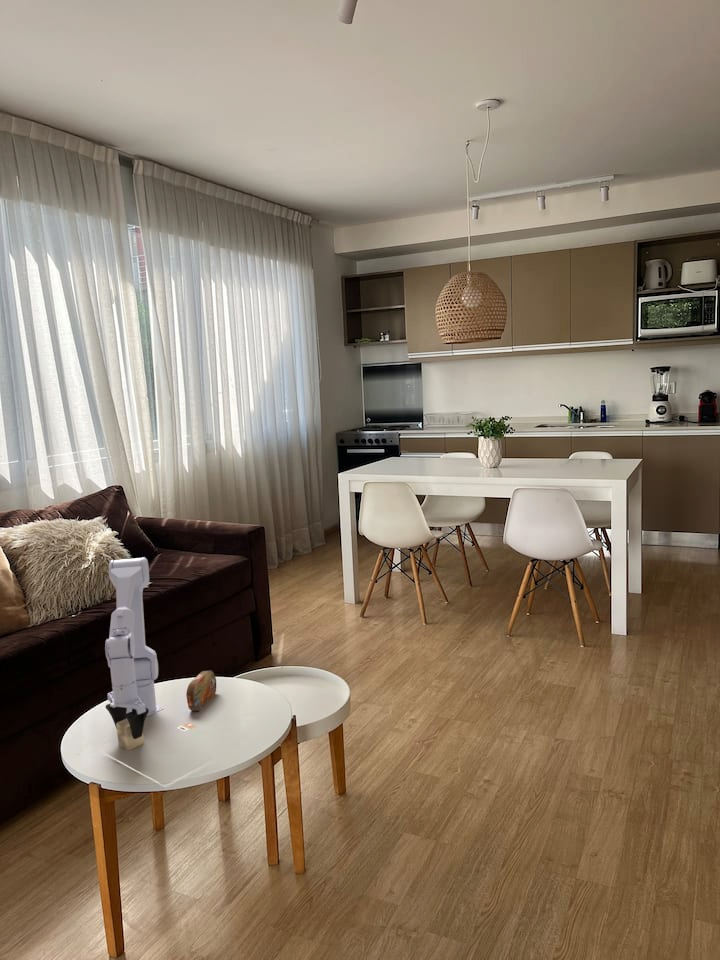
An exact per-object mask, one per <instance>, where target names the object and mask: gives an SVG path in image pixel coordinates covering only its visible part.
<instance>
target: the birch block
mask: <svg viewBox="0 0 720 960" xmlns="http://www.w3.org/2000/svg"><path fill="white" fill-rule="evenodd" d="M116 726H117V729H116V733H117V735H116V736H117V743H118V746H119V747H121V748H123V749H125V750H127V751H130V750H132V749H134V748H136V747H139V746H140V745H144V744H145V739H144V732H143V733H142V736H141V737H139V738H137V739H133V736H132V733H131V728H130V725H129V722H128V720H127V719H124V720H122V721H120V722H117V723H116ZM116 726H115V727H116Z"/></svg>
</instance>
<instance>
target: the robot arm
mask: <svg viewBox="0 0 720 960" xmlns="http://www.w3.org/2000/svg"><path fill="white" fill-rule="evenodd" d="M149 569H150V568H149V561H148V559H147V558H146V557H145V556H144V557H143V556H142V557H136V558H125V559H123V558H122V559H112V560H110V561H109V564H108V576H109V577H108V578H109V580H110V582H111V583H112V585H113V587H115V588H116V590H115V591H116V594H115V595H116V608H115V610H114V611H113V612H112V613H111V615H110V617H111V618H110V626H109V635H108V636H109V637H108V638H106V640H105V644H104V646H105V647H104V651H105V658H106V660H107V666H108V668H110V678H111V688H112V691H110V692H108V693H107V701H109V703H107V704H105V709H106V710H107V711H108V713H109V714H110V717H111V718H112V720H113V724H114V726H115V728H116V730H117V726H116V723H117V722H120V721H122V720H124V719H127V720H128V722H129V725H130V728H131V733H132V736H133V739H137V738H139V737H141V736H142V733H143V734H144V725H145V722H146V719H147V717H148V716H151V715H153V714H155V713H157V712H160V711H162V710H164V708H163V707H160V706H159V705H157V700H156V691H155V690H156V689H155V681H156V680H157V679H158V676H159V662H158V658H157V657H158V656H157V653H156V650H154V649H152V648H151V647H149V646H147V644H146V629H145V618H144V617H145V615H144V613H145V612H144V601H143V598H144V597H143V591H144V588H145V587H147V586H149V585H150V570H149Z"/></svg>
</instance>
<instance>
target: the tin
mask: <svg viewBox="0 0 720 960" xmlns="http://www.w3.org/2000/svg"><path fill="white" fill-rule="evenodd" d="M216 692H217V678H216V674H215V672H214V671H213V670H204V671H203V670H202V671H201V672H200V673H199V674H197V676H195V677H194V679H192V680H191V681H190V683H189V684H188V686H187V689H186V694H185V695H186V702H187V706H188V710H190V711H192V712H200V711H201V709H203V708H204V706H205V705H206V704H207V703H209V701H210V700H211V699H212V698H213V697H214V696H215V695H216Z"/></svg>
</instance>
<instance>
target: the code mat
mask: <svg viewBox="0 0 720 960" xmlns="http://www.w3.org/2000/svg"><path fill="white" fill-rule="evenodd" d="M194 728H196V725H195V724H193V723H190V722H187V723H184V724H183V725H179V726H177V727H176V729H178V730H179V731H181V732H187V731H189V730H190V729H194Z"/></svg>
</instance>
